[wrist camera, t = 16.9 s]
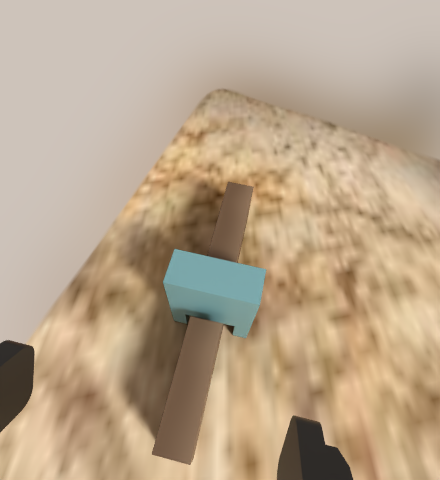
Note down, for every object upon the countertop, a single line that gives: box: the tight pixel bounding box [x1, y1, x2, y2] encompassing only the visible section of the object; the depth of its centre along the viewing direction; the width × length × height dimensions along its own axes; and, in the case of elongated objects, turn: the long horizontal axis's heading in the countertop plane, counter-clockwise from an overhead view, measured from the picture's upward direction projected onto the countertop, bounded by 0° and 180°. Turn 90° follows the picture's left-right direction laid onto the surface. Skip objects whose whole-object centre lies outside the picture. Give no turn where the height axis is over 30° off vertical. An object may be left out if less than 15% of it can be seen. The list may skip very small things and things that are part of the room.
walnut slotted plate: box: [152, 182, 253, 465], centre depth 25 cm, size 2×20×5 cm, turn 167°
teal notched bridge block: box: [163, 249, 266, 338], centre depth 24 cm, size 6×2×8 cm, turn 77°
